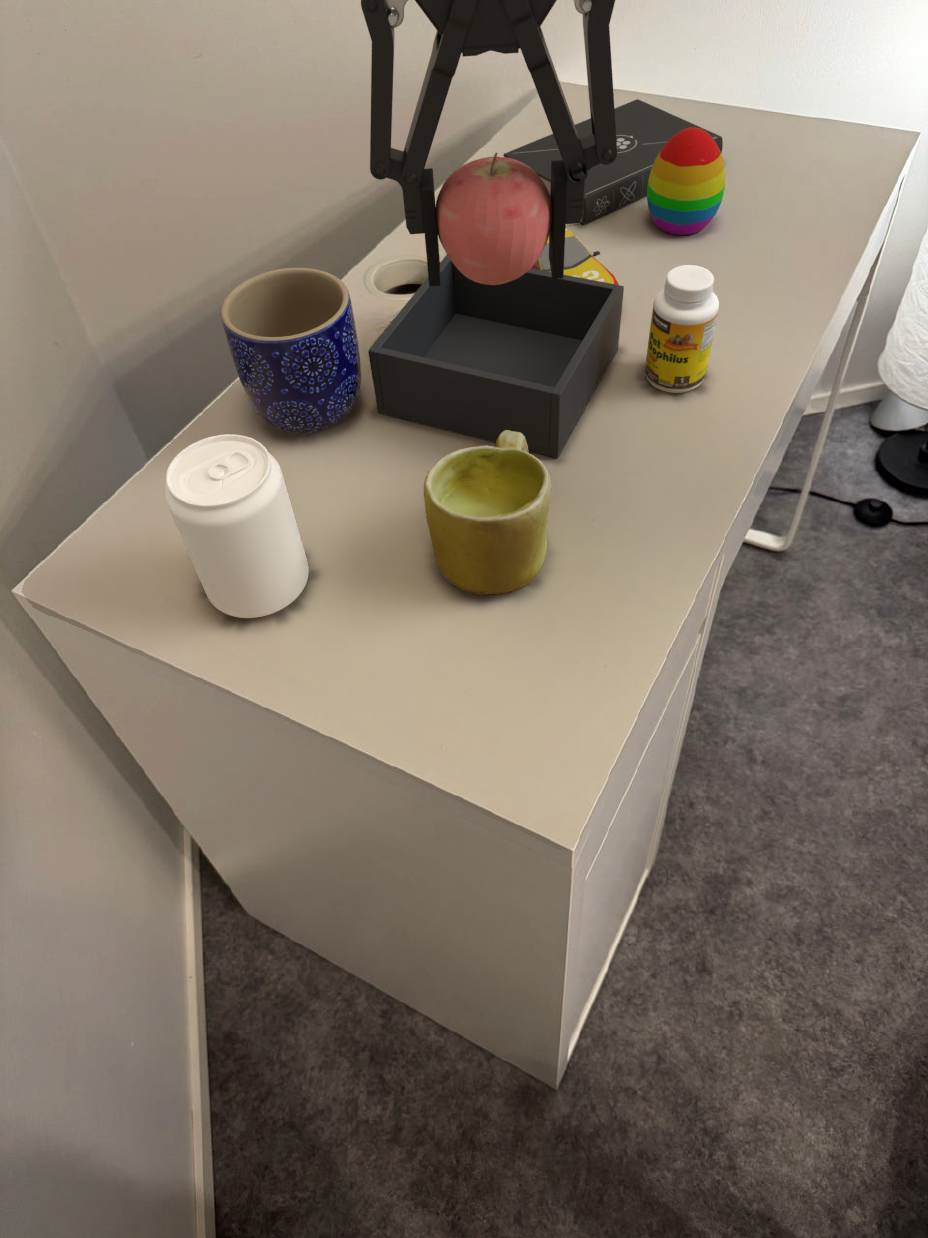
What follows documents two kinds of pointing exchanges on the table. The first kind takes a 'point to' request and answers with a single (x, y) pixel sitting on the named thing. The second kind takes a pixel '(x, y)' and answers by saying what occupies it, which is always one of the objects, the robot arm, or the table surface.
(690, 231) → the decorative egg
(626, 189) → the book
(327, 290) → the planter
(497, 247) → the apple
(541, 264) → the toy car
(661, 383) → the supplement bottle
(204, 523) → the beverage can
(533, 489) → the mug
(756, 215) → the table surface
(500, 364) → the dark grey open box
